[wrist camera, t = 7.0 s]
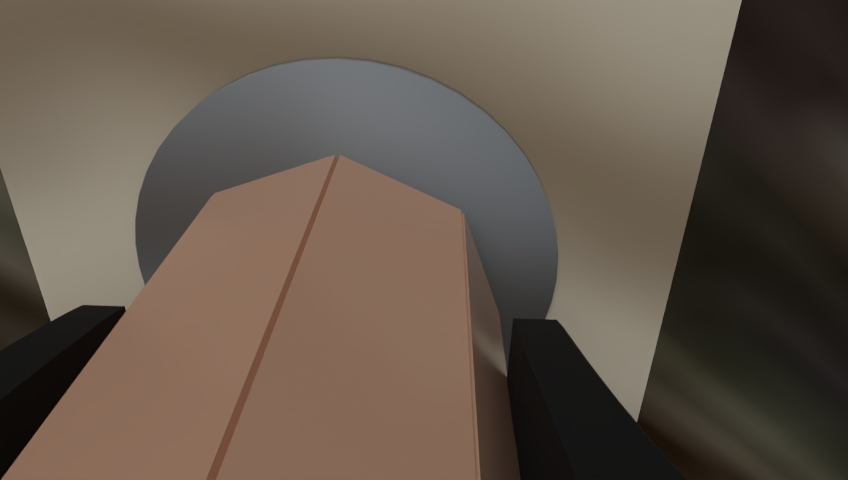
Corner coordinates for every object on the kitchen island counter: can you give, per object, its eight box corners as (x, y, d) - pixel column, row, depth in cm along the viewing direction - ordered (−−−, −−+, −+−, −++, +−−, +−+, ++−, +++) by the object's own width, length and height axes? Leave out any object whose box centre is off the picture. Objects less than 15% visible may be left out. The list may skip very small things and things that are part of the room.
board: (564, 654, 20) (572, 701, 18) (179, 639, 20) (163, 685, 19) (727, -60, 10) (764, -53, 9) (-34, -77, 10) (-95, -73, 9)
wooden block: (522, 379, 11) (602, 881, 6) (269, 438, 12) (116, 923, 6) (433, 123, 9) (414, 535, 3) (129, 220, 10) (-293, 673, 4)
